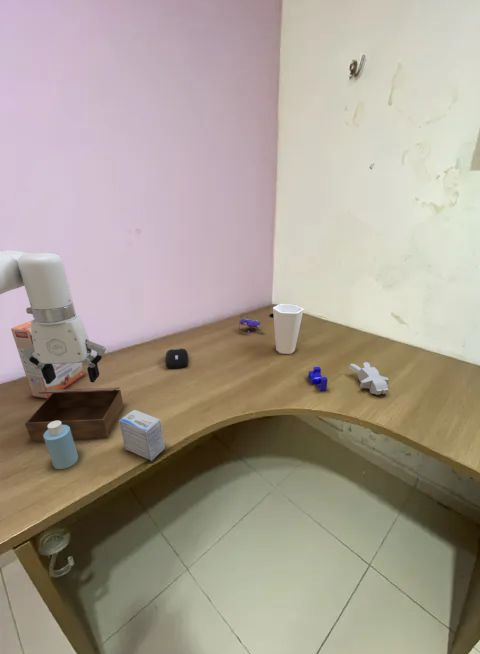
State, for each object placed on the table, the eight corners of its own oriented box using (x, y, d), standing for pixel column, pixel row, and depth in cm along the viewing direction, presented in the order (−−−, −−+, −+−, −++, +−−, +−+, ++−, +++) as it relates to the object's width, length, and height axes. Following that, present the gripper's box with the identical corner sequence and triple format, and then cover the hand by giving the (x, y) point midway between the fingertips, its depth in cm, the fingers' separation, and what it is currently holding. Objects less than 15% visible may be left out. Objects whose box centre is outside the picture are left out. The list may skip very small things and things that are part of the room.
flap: (38, 393, 74) (38, 392, 74) (52, 390, 80) (52, 389, 80) (110, 391, 76) (110, 389, 76) (119, 388, 82) (119, 387, 82)
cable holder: (308, 377, 102) (309, 367, 101) (318, 377, 103) (319, 366, 101) (315, 391, 95) (316, 380, 94) (326, 390, 96) (327, 379, 94)
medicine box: (165, 449, 71) (161, 418, 67) (151, 462, 67) (146, 431, 64) (139, 438, 74) (134, 408, 70) (124, 450, 70) (118, 419, 67)
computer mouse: (187, 352, 116) (187, 342, 114) (188, 368, 105) (187, 357, 103) (166, 354, 114) (165, 344, 112) (165, 370, 103) (164, 359, 102)
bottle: (49, 470, 64) (35, 432, 60) (59, 453, 69) (47, 417, 64) (72, 468, 65) (61, 431, 61) (81, 452, 69) (71, 416, 65)
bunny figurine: (370, 387, 91) (347, 359, 103) (366, 400, 93) (344, 371, 106) (398, 384, 93) (372, 356, 105) (393, 397, 96) (368, 368, 108)
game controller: (257, 317, 142) (266, 320, 134) (253, 334, 143) (261, 338, 134) (237, 312, 138) (245, 315, 129) (233, 330, 139) (240, 334, 130)
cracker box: (50, 400, 86) (29, 330, 77) (31, 397, 87) (8, 328, 78) (86, 375, 99) (71, 312, 90) (69, 372, 99) (52, 310, 91)
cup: (298, 345, 125) (302, 304, 118) (300, 356, 116) (304, 313, 109) (271, 343, 125) (273, 303, 118) (270, 355, 116) (272, 312, 109)
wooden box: (31, 441, 72) (24, 423, 69) (58, 408, 83) (53, 391, 81) (107, 437, 74) (103, 419, 71) (123, 405, 85) (120, 389, 83)
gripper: (-1, 319, 63) (24, 390, 70) (90, 318, 65) (105, 387, 72) (21, 307, 69) (42, 373, 76) (103, 306, 71) (116, 371, 79)
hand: (73, 380), depth 74 cm, fingers open, 9 cm apart
